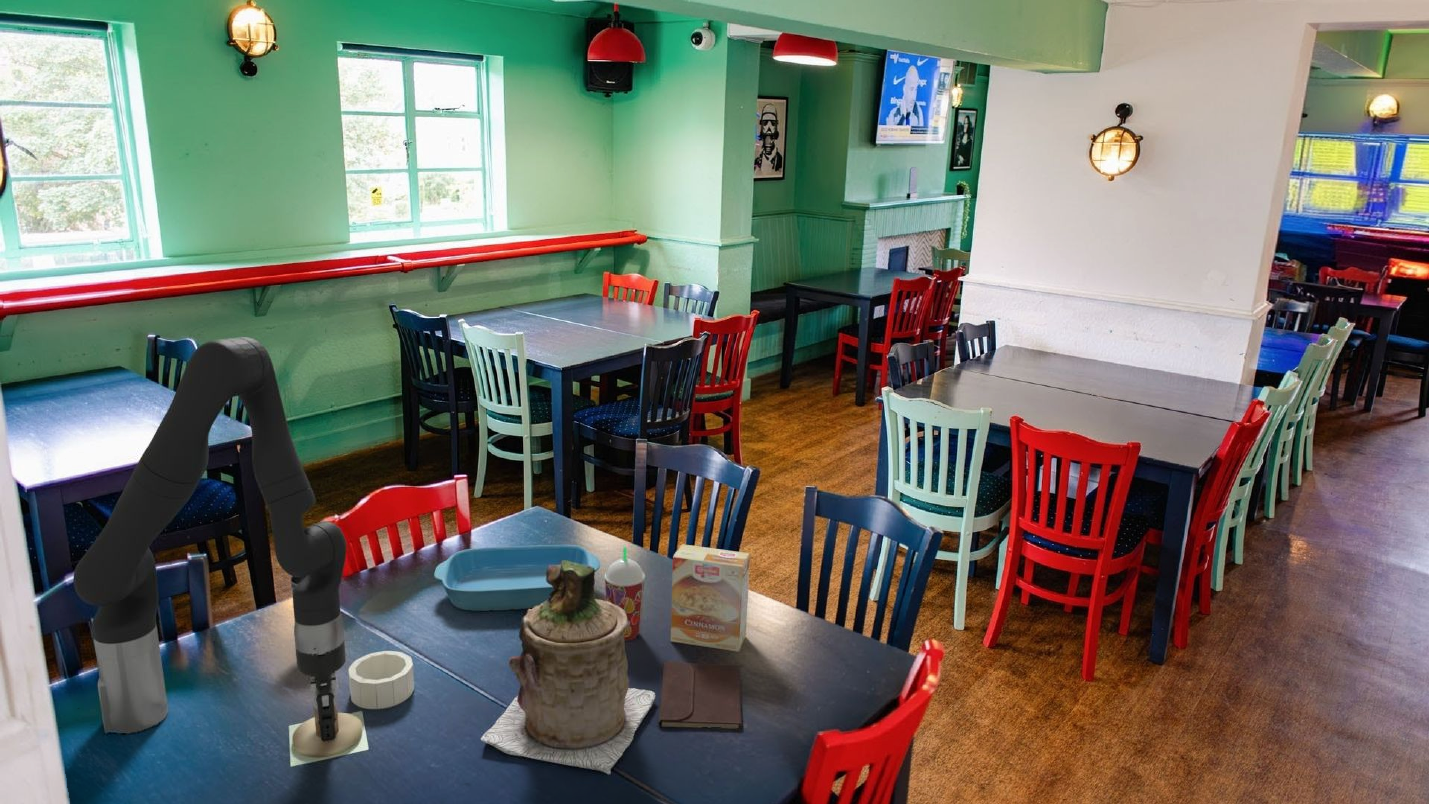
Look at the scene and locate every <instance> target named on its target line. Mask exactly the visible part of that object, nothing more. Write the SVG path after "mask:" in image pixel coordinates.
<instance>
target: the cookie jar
mask: <svg viewBox="0 0 1429 804" xmlns="http://www.w3.org/2000/svg"><path fill="white" fill-rule="evenodd" d="M595 573H596V572H595V569H594V568H593V567H591V566H588V565H582V564H578V563H574V562H570V561H567V560H563V561H562V562H561V565H552V566H549V567H548V568H547V571H546V582H547V583H548V584H550V585H552V586H553V588H554V590H553V591H552V592H551V593H550V595H549V599H548V600H547V601H545V602H544V603H541V604H540V605H539V606H535V607H534V608H532V609H527V611H526V615H524V616H523V617H522V619H521V622H520V623H519V632H518V638H519V640H520V641H521V648H522V649H521V650H522V651H521V654H520V655H519V656H518V655H517V656H516V655H515V656H512V657H510V658H509V660H508V665H509V668H510V670H511V671H512V672H513V673H514V675H515V677H516V679H517V681H518V682H519V690H518V694H517V696H516V697H514V699H512V702H511V703H510V704H509V706H508V707H507V708H505V711H504V713H502V714H501V716H499V717H498V719H496V721H495V723H494V724H493V726H492V727H490V728H489V729H488V730H486V731H485V732H484V734H483V735H482V736H481V737H480V741H481V742H483V743H486V744H488V745H491V746H493V747H494V748H496V749H497V750H499V751H501V752H502V753H505V754H506V755H511V756H517V757H525V758H527V759H528V758H530V759H533V760H539V761H544V762H550V763H555V764H561V765H565V766H571V767H576V768H577V767H578V768H582V769H589V770H595V771H599V772H602V773H605V774H607V775H611V773H612V772H611V771H612V770H611V769H612V768H613V767H614V766H615V764H616V763H617V762H618V760H619V759H620V758H621V757H622V756H623V755H624V752H625V751H626V749H627V748H628V747H629V746H630V745H631V743H632V741H633V740H634V736H635V733H636V731H637V729H638V727H639V726H640V725H641V723H642V721H643V720H644V718H645V717H646V715H648V712H649V711H650V709H651V708H652V707H653V705H654V703H655V702H654V701H655V699H656V693H655V692H654V691H652V690H646V689H638V688H634V687H633V688H632V687H631V688H630V687H629V685H630V684H629V682H630V679H629V676H628V666H629V664H628V663H629V662H628V658H627V654H626V648H625V641H624V634H625V633H626V631H627V630H628V620H627V615H626V613H625V611H624V610H623V609H622V608H620V607H619V606H617V605H614V604H612V603H610V602H607V601H606V600H602V599H597V598H595V597H594V594H595V580H596V579H595V576H596V575H595Z"/></svg>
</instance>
